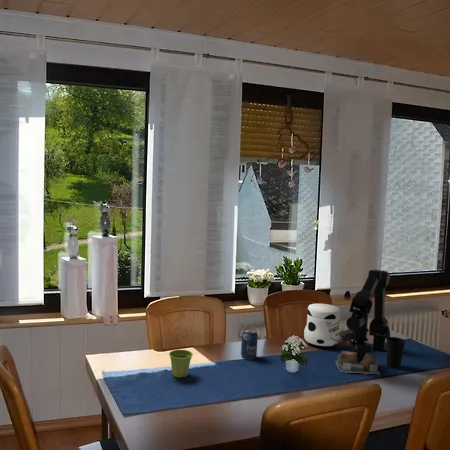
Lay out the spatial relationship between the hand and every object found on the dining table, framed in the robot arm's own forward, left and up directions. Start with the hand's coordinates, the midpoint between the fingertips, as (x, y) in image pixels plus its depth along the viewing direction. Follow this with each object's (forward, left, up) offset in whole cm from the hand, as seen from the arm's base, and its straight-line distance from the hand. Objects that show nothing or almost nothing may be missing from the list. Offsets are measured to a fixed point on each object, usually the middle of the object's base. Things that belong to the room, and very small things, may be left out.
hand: (357, 360), depth 217 cm
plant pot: (+16, -74, -4) cm, 76 cm away
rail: (0, 0, -1) cm, 1 cm away
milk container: (-30, -10, -4) cm, 32 cm away
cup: (-5, +17, -4) cm, 18 cm away
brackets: (0, 0, -4) cm, 4 cm away
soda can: (-7, -46, -4) cm, 47 cm away
